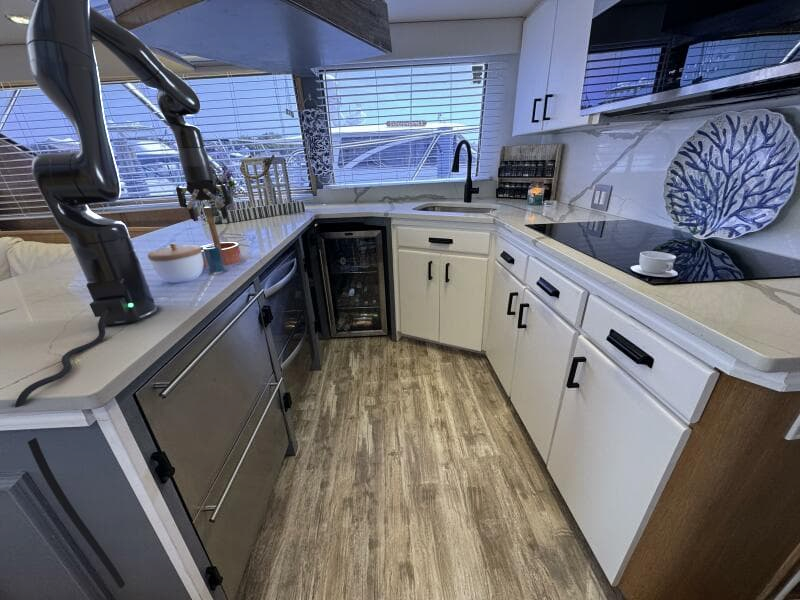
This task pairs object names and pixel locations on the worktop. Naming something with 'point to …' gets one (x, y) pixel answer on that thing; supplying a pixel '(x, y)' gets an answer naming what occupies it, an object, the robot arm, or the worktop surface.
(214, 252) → the utensil pot
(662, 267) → the teacup
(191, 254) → the lidded bowl
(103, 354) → the worktop surface
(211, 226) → the stirring stick
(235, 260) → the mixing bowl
